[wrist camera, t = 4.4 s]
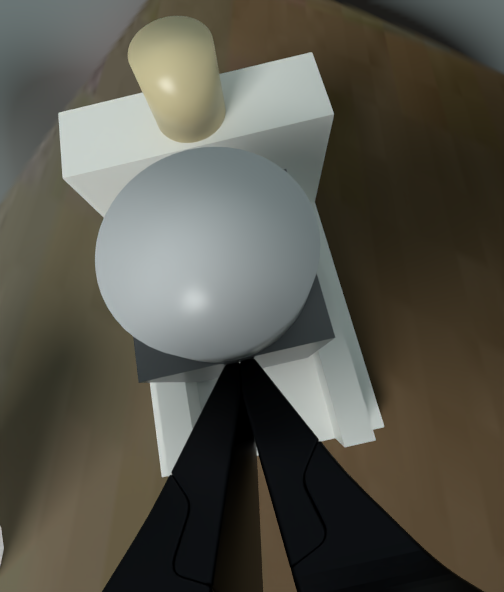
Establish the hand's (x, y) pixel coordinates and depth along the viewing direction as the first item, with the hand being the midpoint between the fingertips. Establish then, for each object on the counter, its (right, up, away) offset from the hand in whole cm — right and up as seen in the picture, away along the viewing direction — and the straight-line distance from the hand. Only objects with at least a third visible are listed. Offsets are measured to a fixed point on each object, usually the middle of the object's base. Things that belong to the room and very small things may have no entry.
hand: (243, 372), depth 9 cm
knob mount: (0, +2, +8) cm, 8 cm away
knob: (0, +1, +6) cm, 6 cm away
